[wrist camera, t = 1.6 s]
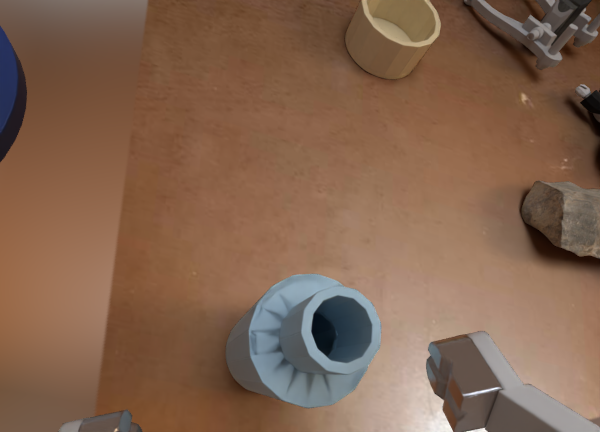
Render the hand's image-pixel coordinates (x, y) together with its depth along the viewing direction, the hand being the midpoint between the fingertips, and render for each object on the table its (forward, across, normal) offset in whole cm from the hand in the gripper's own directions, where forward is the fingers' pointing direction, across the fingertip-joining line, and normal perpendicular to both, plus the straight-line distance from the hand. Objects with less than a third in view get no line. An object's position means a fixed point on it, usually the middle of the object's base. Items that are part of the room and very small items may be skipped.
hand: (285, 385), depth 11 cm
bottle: (+13, +2, +16) cm, 21 cm away
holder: (+40, -17, +2) cm, 44 cm away
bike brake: (+48, -38, +3) cm, 62 cm away
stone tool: (+22, -36, +21) cm, 47 cm away
